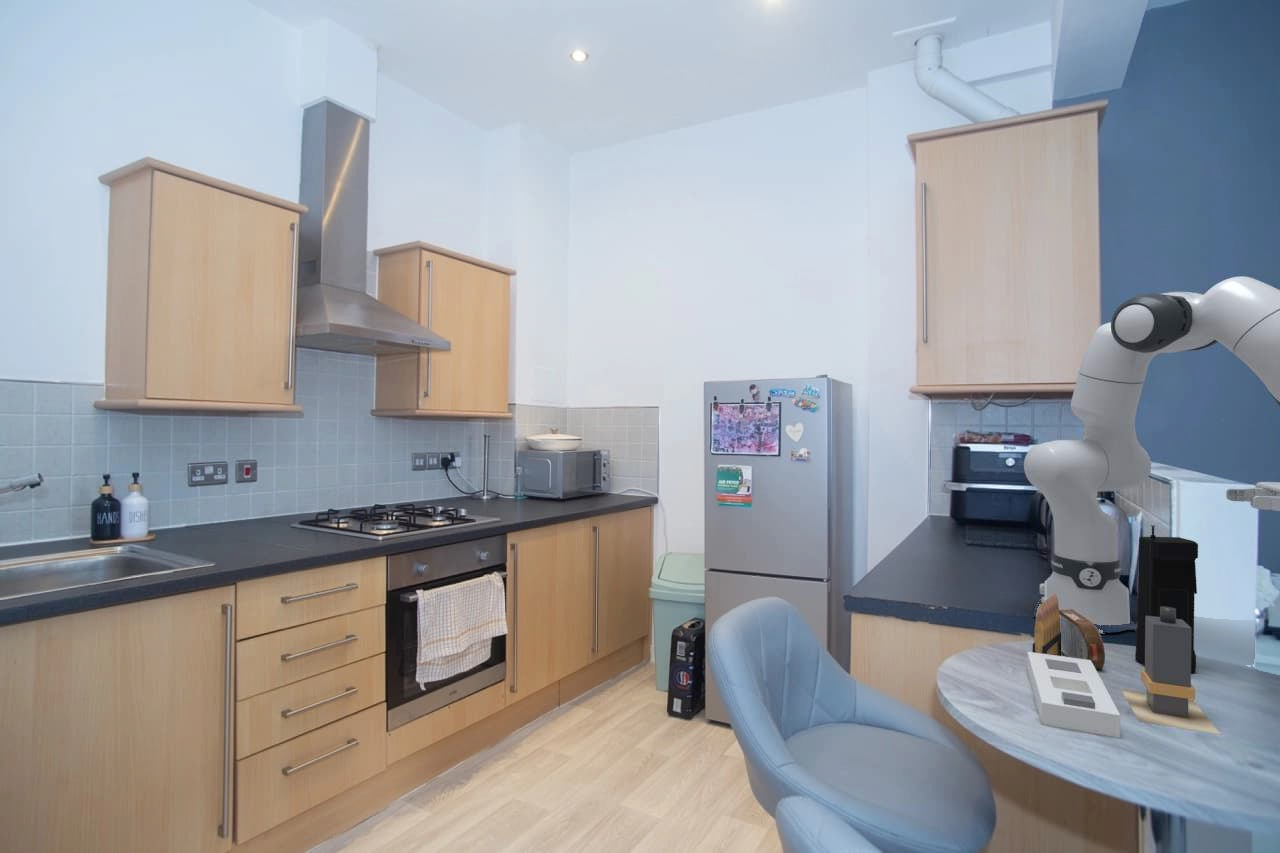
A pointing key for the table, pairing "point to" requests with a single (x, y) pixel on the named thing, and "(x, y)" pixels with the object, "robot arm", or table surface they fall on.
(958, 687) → the table surface
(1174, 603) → the portable radio
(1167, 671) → the plug
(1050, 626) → the ammunition clip
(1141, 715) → the oak board
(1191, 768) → the table surface
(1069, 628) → the tin
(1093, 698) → the power strip
